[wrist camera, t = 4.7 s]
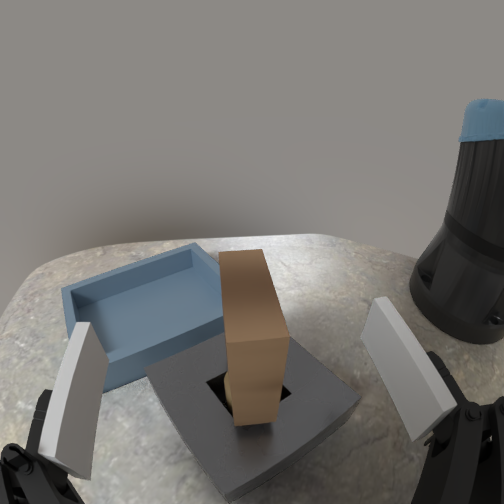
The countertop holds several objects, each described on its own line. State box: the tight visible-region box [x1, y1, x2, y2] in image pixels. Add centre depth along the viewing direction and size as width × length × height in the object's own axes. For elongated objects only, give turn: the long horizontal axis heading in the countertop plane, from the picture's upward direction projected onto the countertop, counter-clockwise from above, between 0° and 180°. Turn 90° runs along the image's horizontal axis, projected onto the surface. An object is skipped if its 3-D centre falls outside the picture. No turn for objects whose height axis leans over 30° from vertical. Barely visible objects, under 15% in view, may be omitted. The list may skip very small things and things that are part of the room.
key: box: [219, 249, 290, 426], centre depth 15 cm, size 6×3×12 cm, turn 8°
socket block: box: [144, 332, 361, 503], centre depth 17 cm, size 10×10×4 cm
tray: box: [61, 243, 224, 393], centre depth 25 cm, size 16×12×3 cm
